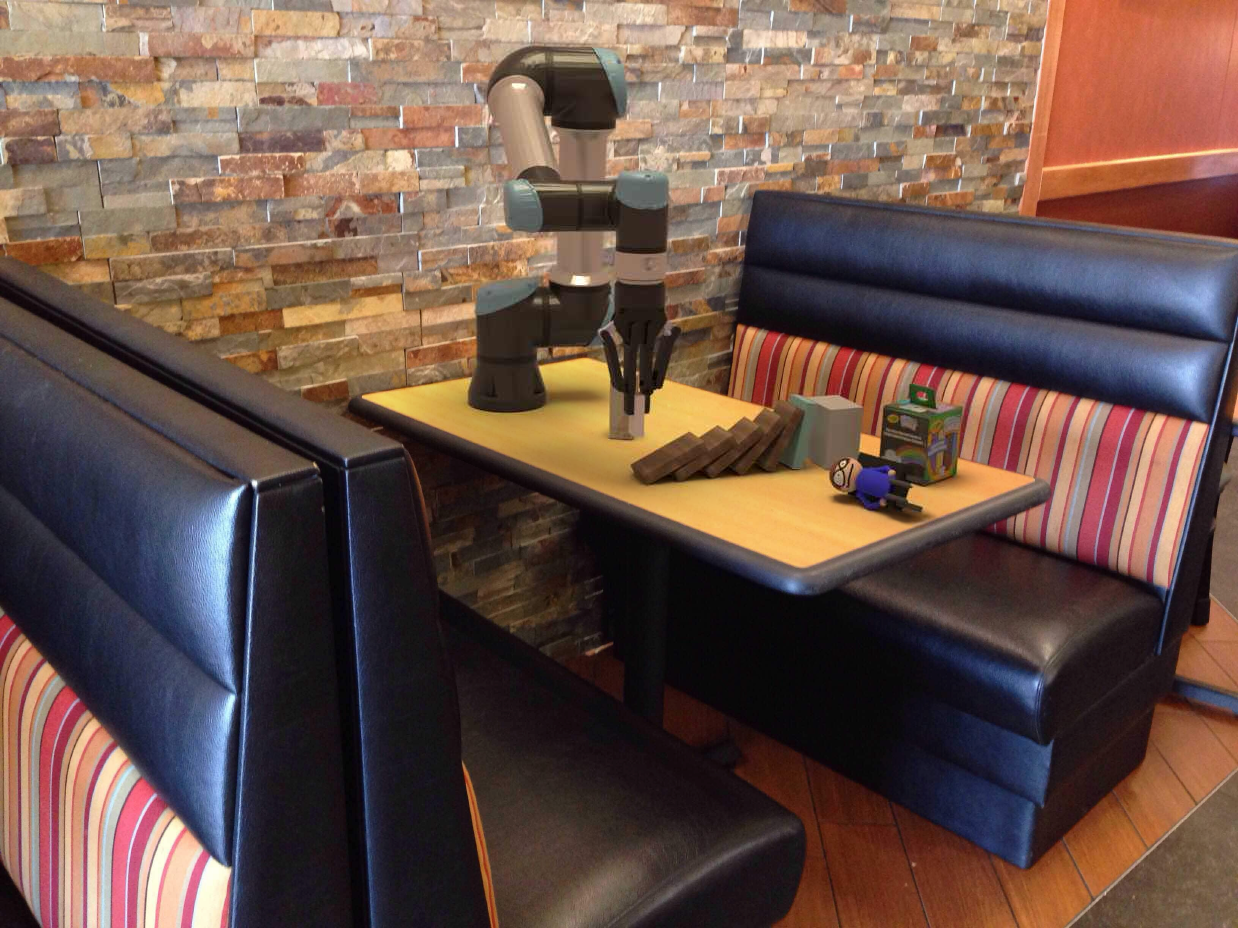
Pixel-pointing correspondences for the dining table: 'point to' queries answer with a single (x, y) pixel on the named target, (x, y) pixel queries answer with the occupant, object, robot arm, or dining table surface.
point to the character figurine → (876, 481)
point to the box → (619, 414)
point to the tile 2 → (716, 445)
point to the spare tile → (799, 433)
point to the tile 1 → (669, 458)
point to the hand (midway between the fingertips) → (636, 434)
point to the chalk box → (922, 434)
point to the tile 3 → (745, 438)
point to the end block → (834, 430)
